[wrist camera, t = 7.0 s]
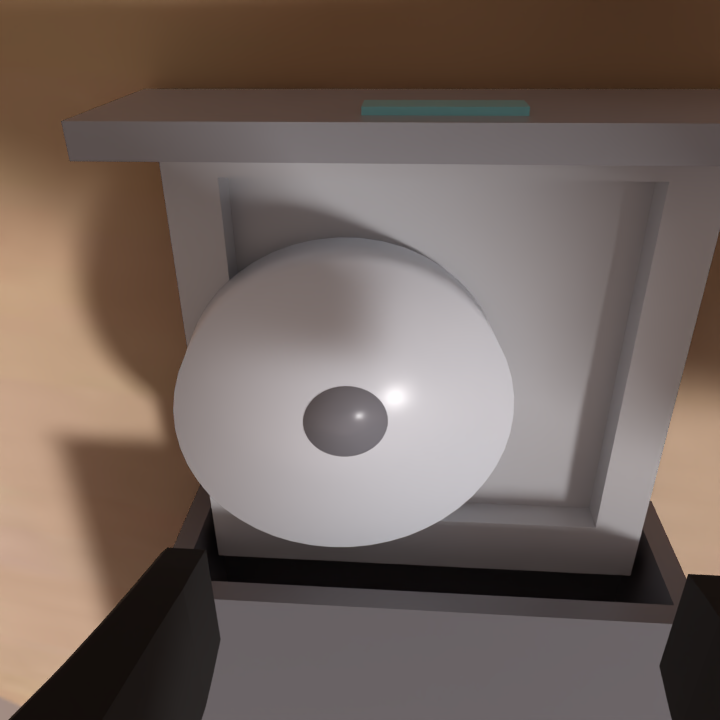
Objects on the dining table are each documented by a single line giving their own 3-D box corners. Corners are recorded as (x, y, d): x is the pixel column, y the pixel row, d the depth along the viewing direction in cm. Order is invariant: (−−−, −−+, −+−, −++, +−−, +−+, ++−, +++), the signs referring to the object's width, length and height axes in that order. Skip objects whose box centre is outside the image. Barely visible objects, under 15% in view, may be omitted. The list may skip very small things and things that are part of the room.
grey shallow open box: (755, 81, 15) (867, 114, 11) (640, 530, 21) (687, 646, 17) (143, 81, 16) (58, 112, 12) (209, 510, 22) (167, 616, 18)
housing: (651, 500, 21) (707, 625, 17) (586, 752, 27) (614, 886, 23) (201, 482, 22) (152, 595, 18) (240, 729, 28) (210, 854, 24)
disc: (489, 211, 15) (506, 234, 14) (505, 483, 19) (520, 523, 18) (144, 267, 16) (125, 295, 14) (229, 524, 19) (221, 567, 18)
